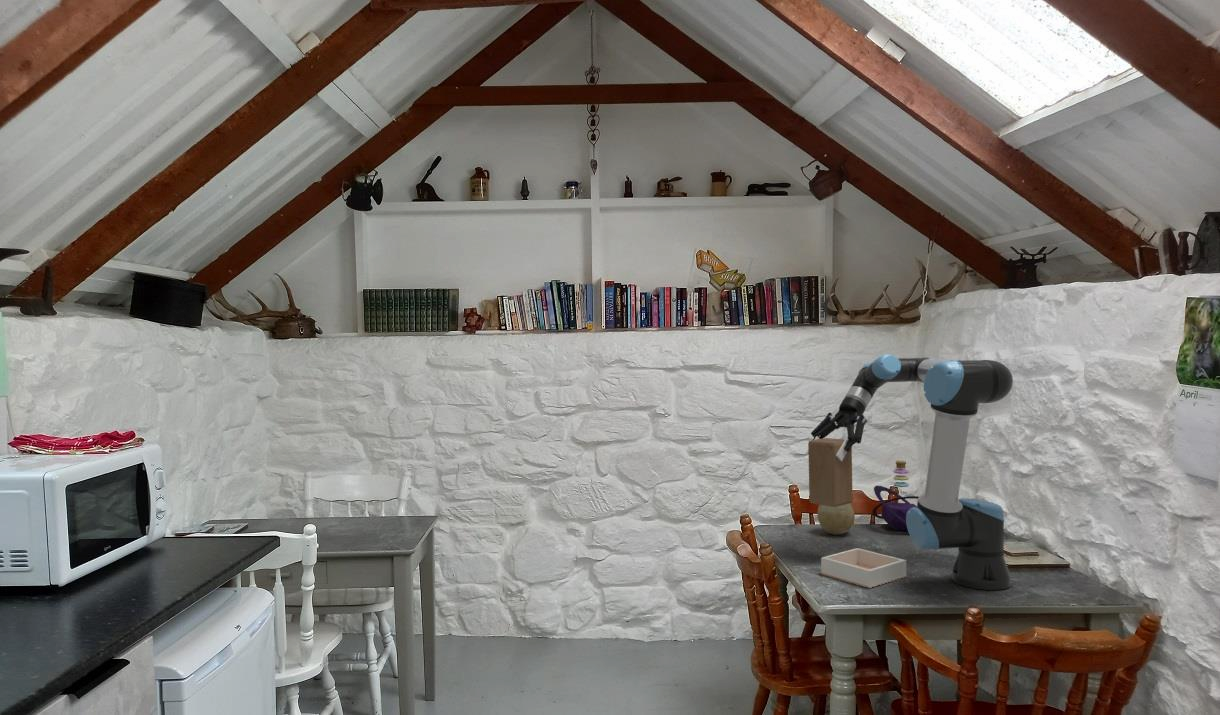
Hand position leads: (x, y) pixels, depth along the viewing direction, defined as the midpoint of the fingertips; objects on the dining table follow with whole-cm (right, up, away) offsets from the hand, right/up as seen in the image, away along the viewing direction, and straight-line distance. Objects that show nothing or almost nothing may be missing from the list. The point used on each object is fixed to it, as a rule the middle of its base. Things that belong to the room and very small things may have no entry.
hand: (824, 456), depth 240 cm
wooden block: (+3, -15, +2) cm, 16 cm away
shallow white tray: (+8, -33, -14) cm, 37 cm away
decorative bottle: (+39, -32, +40) cm, 65 cm away
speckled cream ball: (+14, -32, +34) cm, 49 cm away
